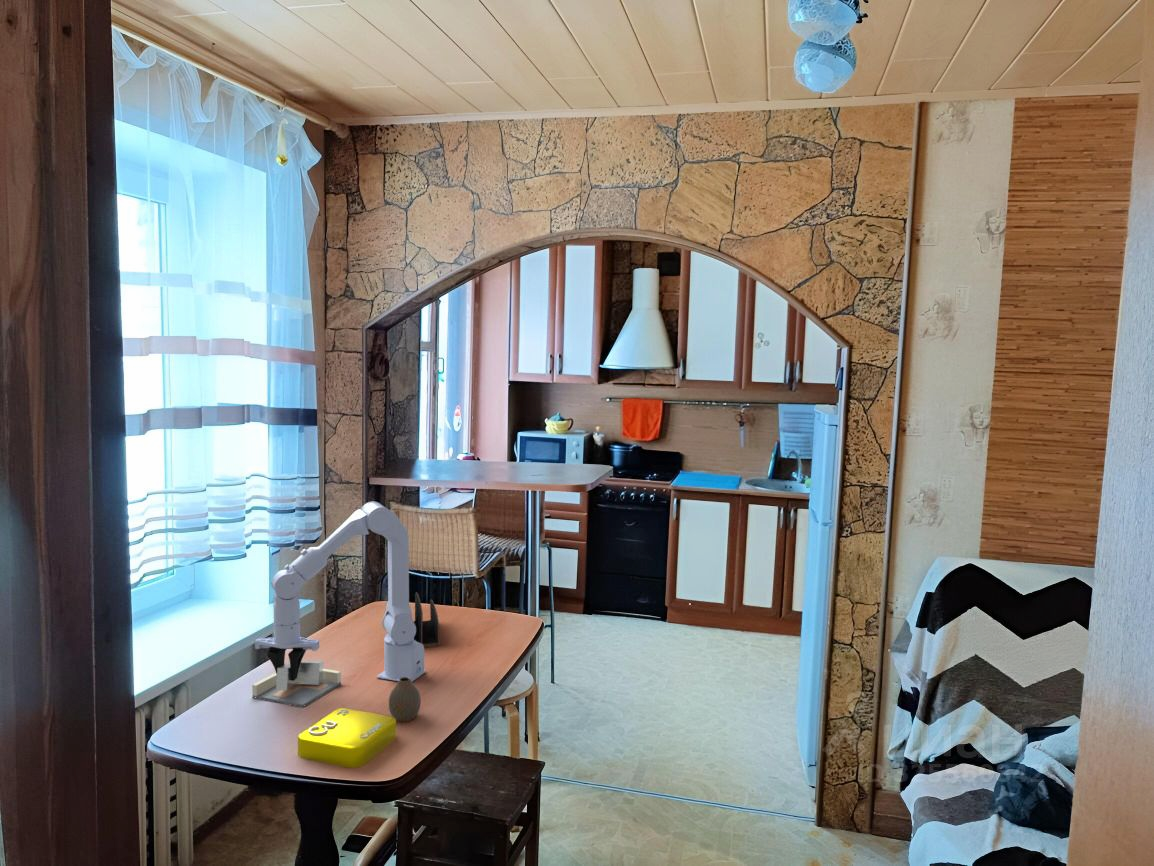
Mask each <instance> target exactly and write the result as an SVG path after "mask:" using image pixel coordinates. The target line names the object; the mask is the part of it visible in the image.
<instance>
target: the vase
mask: <svg viewBox="0 0 1154 866" xmlns="http://www.w3.org/2000/svg"><path fill="white" fill-rule="evenodd" d="M421 704H422V699H421V694H420V691H419V689H418V688H417V686H416V685H415V684H414V683H413V681H412V682H411V679H410V678H408V677H403V678H400V679H399V681H397V683H396V685H395V686H394V687H393V689H392V690H391V692H390V694H389V697H388V710H389V713H390V715H391V717H394V718H395V719H396V721H397V720H398V721H397V722H401V721H405V722H409V720H410V721H411V720H414V718H415V717H416V716H417V715H418V713H419V712H420V708H421Z"/></svg>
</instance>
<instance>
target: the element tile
mask: <svg viewBox="0 0 1154 866" xmlns="http://www.w3.org/2000/svg"><path fill="white" fill-rule="evenodd" d="M395 738H397V720H396V719H395V718H394V717H393V716H392V715H391V716H390V715H384V714H379V713H373V712H368V711H363V710H358V709H352V708H347V707H346V708H345V707H339V708H337V709H335V710H333V711H331V712H330V713H328V714H327V715H326V716H324V717H322V718H321V719H320V720H318V721H316V722H315V723H313V724H312V725H311V726H309V727H308V728H306V729H304V730H303V731H301V732H300V733H299V734H298V736H297V755H298V757H299V756H300V757H299V758H301V757H302V758H301V759H306V758H307V759H306V760H310V759H311V760H310V761H316V762H321V763H324V764H325V763H326V764H331V765H333V766H339V767H344V768H347V769H349V768H350V769H357V768H360V767H363V766H364V765H366V764H367V763H368V762H369V761H371V760H372V759H373V758H374V757H375V756H377V755H378V754H379V753H381V752H382V751H383V750H384V749H385V748H386V747H387V746H389V745H390V744H391V743H393V742H394V741H395V740H394V739H395ZM393 740H394V741H393Z"/></svg>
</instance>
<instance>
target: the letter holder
mask: <svg viewBox="0 0 1154 866" xmlns="http://www.w3.org/2000/svg"><path fill="white" fill-rule="evenodd" d="M429 606H430V607H429V608H430V609H429V610H430V611H429V613H430V614H429V615H430V619H429V620H423V619H424V615H423V606H422V603H421V599H420V594H419V593H418V592H417V591H416V592H414V620H413V622H414V624H415V626H416V634H415V636H414V640H415V641H417V642H419V643H421V644H423V646H424V647H426V648H430V647H429V646H438V647H440V629H439V628H440V624H439V623H440V622H439V615H438V612H437V609H436V605H435V603H434V601H433V599H430V600H429Z"/></svg>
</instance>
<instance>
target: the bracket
mask: <svg viewBox="0 0 1154 866" xmlns="http://www.w3.org/2000/svg"><path fill="white" fill-rule="evenodd" d="M323 669H324V660H303V659H302V661H301V663H300V666H299V670H298V675H297V678H296V679H295V680H294V681H291V677H290V673H291V667H290V661H289V662H286V663H284V665H282V666H280V667H278V668H277V683H276V690H288V689H290V688H292V687H294V686H295V685H297V684H312V685H319V684H321V683H322V682H323Z"/></svg>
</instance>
